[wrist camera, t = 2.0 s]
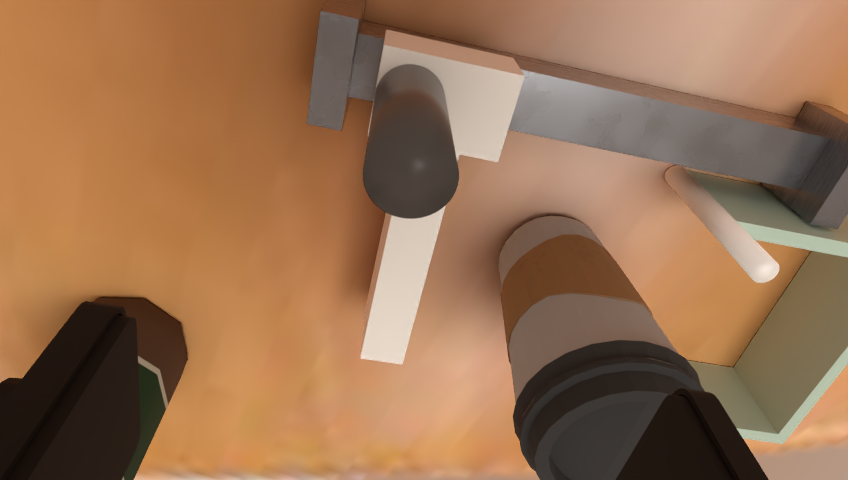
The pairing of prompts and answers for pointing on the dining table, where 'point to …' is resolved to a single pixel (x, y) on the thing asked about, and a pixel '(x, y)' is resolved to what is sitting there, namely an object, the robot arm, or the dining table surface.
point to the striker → (424, 164)
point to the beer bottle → (153, 366)
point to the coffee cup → (580, 352)
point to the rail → (619, 117)
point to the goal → (791, 316)
